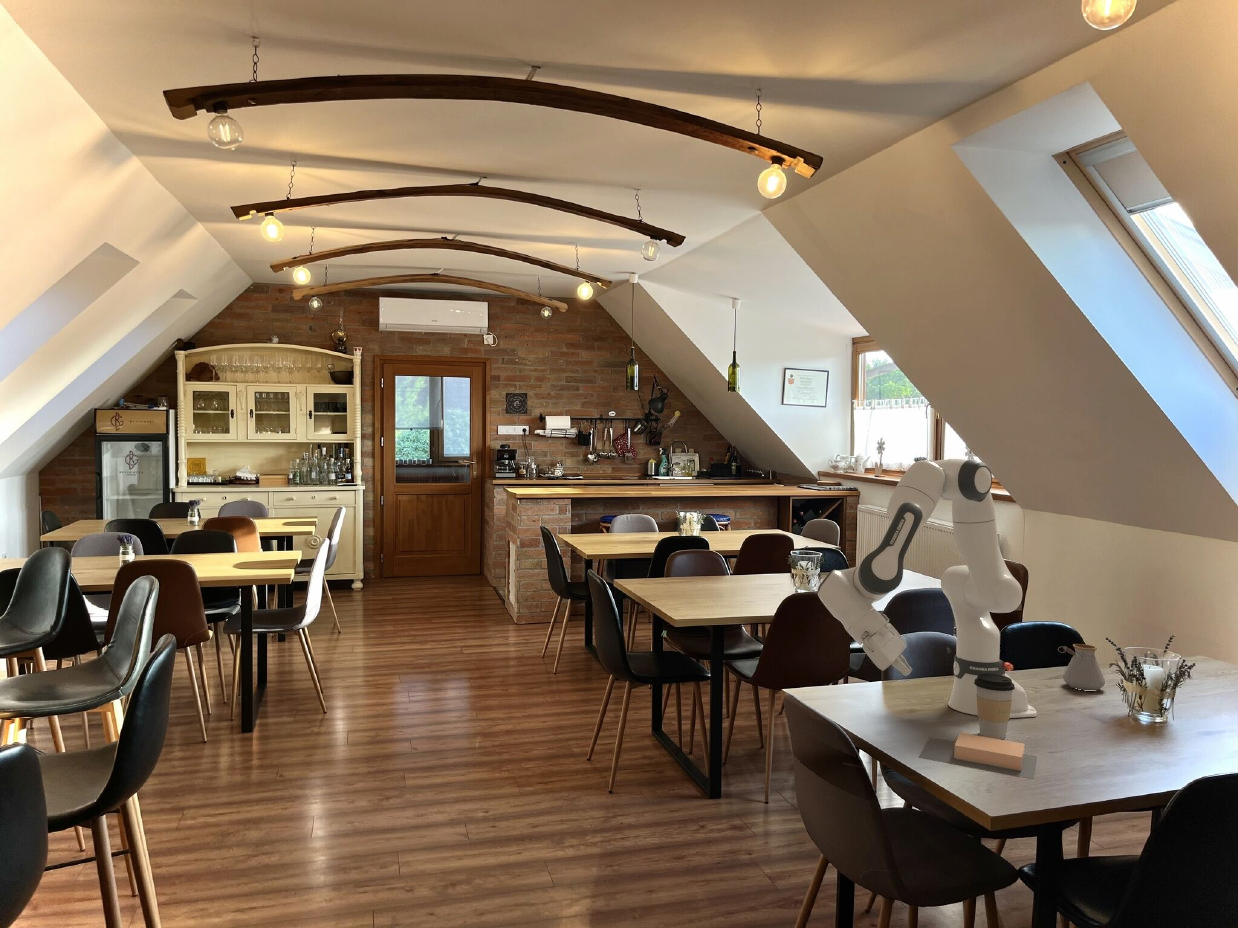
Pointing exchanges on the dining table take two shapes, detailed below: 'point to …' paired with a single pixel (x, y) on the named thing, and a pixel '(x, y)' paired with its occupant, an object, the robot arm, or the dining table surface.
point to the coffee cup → (993, 704)
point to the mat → (945, 753)
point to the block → (989, 751)
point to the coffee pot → (1083, 668)
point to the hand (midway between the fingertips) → (909, 673)
